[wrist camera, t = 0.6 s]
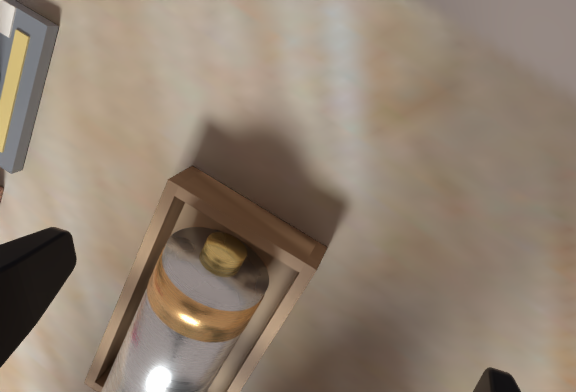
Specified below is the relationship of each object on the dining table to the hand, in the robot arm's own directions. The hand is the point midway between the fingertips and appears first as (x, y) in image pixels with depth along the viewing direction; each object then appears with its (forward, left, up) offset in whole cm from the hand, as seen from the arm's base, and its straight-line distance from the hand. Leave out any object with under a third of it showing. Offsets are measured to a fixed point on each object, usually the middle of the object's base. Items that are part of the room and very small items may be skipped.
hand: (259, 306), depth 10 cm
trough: (-13, +3, -14) cm, 19 cm away
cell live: (-13, +3, -13) cm, 19 cm away
